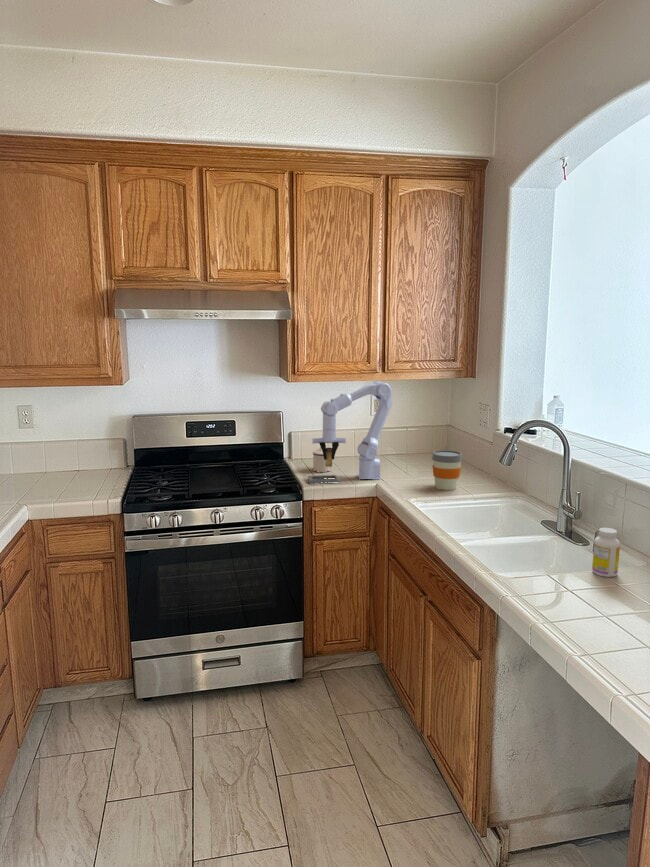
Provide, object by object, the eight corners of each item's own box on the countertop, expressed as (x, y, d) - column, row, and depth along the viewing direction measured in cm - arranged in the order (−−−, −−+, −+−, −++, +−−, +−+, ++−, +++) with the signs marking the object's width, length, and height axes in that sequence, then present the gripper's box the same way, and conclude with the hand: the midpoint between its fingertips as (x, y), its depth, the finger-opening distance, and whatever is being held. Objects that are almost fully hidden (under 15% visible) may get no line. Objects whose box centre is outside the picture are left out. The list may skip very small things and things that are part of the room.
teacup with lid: (334, 472, 289) (334, 447, 286) (316, 473, 286) (316, 449, 284) (326, 466, 300) (326, 443, 298) (308, 467, 297) (308, 444, 295)
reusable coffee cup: (439, 492, 256) (440, 457, 253) (426, 484, 267) (427, 450, 265) (466, 490, 259) (467, 455, 256) (452, 482, 271) (453, 449, 268)
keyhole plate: (336, 478, 277) (336, 475, 276) (338, 483, 269) (338, 479, 269) (307, 479, 275) (307, 475, 275) (309, 483, 267) (309, 480, 267)
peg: (331, 465, 273) (332, 447, 272) (332, 466, 270) (332, 448, 269) (325, 465, 273) (325, 447, 272) (325, 466, 270) (325, 448, 269)
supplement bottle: (610, 568, 178) (614, 526, 175) (621, 577, 171) (626, 534, 169) (587, 568, 177) (591, 526, 175) (598, 578, 171) (602, 534, 169)
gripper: (344, 427, 273) (343, 456, 275) (311, 427, 271) (311, 457, 274) (346, 429, 266) (346, 460, 269) (313, 430, 265) (313, 460, 267)
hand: (328, 459), depth 271 cm, fingers closed on peg, 3 cm apart
